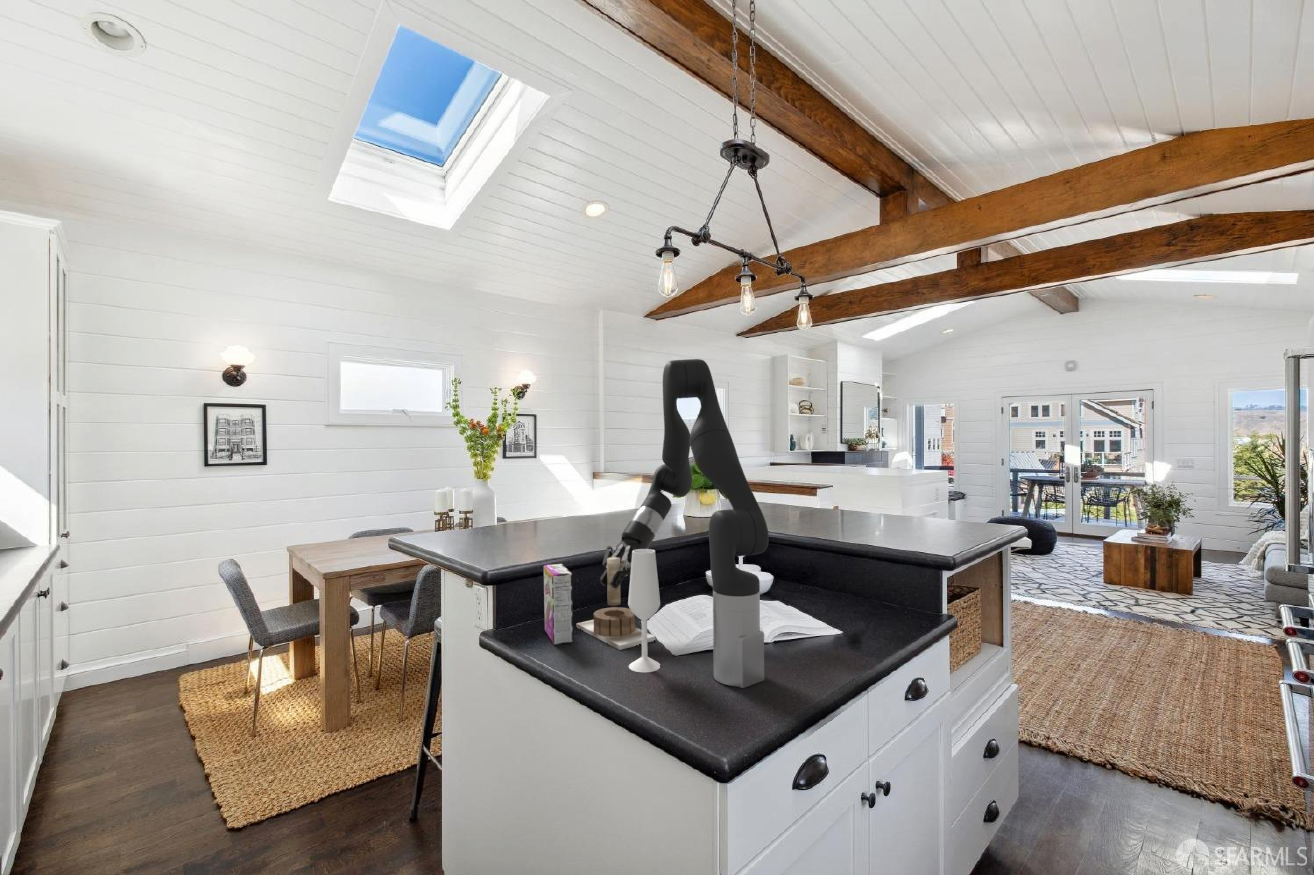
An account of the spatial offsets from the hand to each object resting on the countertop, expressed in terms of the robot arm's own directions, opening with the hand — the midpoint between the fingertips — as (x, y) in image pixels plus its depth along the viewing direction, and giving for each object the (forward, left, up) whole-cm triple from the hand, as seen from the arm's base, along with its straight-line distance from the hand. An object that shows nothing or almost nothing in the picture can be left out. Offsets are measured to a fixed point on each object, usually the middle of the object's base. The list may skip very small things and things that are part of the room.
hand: (607, 584), depth 141 cm
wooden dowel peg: (0, -2, -5) cm, 5 cm away
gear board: (0, -2, -12) cm, 12 cm away
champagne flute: (-21, +4, -12) cm, 25 cm away
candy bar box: (+7, +10, -12) cm, 17 cm away
